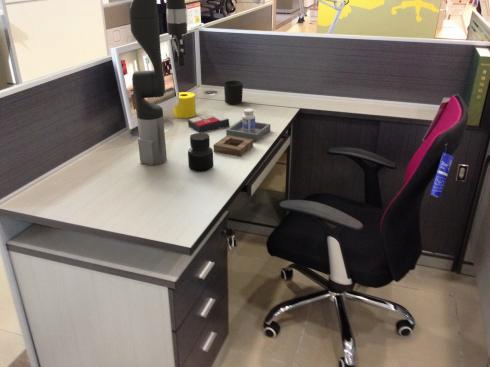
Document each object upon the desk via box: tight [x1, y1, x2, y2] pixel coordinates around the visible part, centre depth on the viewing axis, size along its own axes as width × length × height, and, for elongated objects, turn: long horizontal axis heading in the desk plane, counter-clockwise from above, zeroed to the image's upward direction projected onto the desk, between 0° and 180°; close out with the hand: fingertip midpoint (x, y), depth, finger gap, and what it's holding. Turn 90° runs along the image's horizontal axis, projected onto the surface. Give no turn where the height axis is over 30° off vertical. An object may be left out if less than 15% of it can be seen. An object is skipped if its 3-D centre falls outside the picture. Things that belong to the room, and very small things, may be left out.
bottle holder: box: [213, 135, 254, 158], centre depth 185 cm, size 12×12×3 cm
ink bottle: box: [187, 132, 214, 173], centre depth 168 cm, size 10×9×12 cm
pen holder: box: [223, 80, 244, 106], centre depth 239 cm, size 9×9×10 cm
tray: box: [225, 119, 271, 143], centre depth 200 cm, size 14×14×3 cm
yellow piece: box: [173, 91, 197, 119], centre depth 222 cm, size 10×10×9 cm
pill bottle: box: [241, 108, 256, 133], centre depth 198 cm, size 5×5×10 cm
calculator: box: [187, 112, 230, 133], centre depth 209 cm, size 11×4×15 cm
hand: (179, 63), depth 189 cm, fingers open, 8 cm apart
